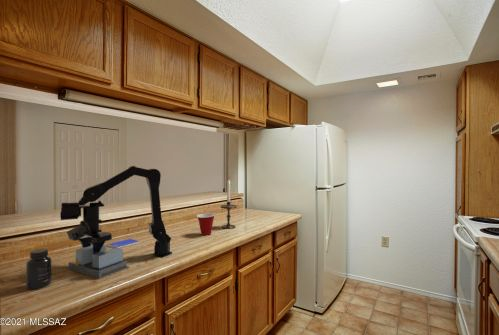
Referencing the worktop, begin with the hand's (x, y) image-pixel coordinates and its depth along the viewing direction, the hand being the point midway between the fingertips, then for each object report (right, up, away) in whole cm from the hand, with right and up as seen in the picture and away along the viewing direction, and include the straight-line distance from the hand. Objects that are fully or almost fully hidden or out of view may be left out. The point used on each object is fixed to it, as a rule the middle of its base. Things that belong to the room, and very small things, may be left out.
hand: (91, 255), depth 111 cm
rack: (+5, -4, -3) cm, 7 cm away
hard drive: (-1, -4, +30) cm, 30 cm away
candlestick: (+51, -4, +69) cm, 86 cm away
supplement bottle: (-7, -4, -19) cm, 20 cm away
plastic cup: (+39, -4, +51) cm, 64 cm away
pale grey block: (0, -4, 0) cm, 4 cm away
